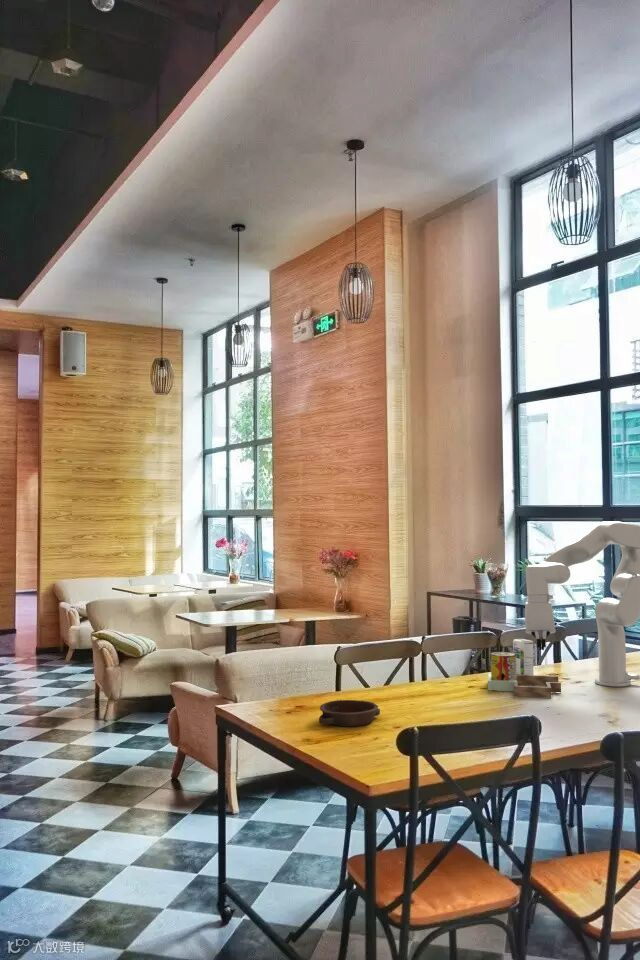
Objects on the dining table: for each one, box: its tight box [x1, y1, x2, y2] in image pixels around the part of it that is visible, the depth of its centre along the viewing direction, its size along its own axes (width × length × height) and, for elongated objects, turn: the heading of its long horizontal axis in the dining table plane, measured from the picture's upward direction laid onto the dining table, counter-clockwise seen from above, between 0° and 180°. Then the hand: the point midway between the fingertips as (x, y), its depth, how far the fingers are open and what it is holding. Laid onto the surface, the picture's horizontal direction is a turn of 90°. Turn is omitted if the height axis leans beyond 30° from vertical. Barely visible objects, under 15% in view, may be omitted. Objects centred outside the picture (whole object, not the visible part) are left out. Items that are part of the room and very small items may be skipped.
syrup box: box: [512, 638, 534, 675], centre depth 309 cm, size 6×6×14 cm
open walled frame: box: [513, 674, 562, 698], centre depth 285 cm, size 24×22×4 cm
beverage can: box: [490, 651, 516, 681], centre depth 291 cm, size 9×9×12 cm
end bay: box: [487, 672, 517, 692], centre depth 291 cm, size 10×14×4 cm
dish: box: [318, 699, 381, 728], centre depth 242 cm, size 18×22×5 cm
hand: (541, 649), depth 289 cm, fingers closed
